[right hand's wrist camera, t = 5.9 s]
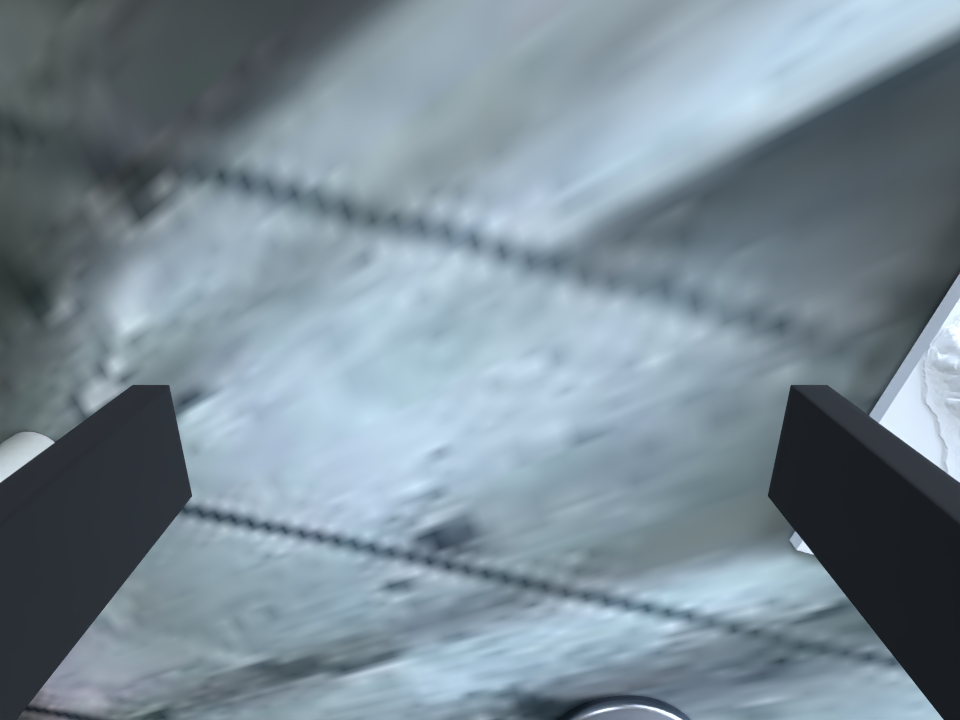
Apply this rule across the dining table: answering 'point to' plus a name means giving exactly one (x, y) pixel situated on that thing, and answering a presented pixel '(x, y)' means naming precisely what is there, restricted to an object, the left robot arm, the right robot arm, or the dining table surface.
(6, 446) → the bottle
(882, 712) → the dining table surface
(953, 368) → the relief map
